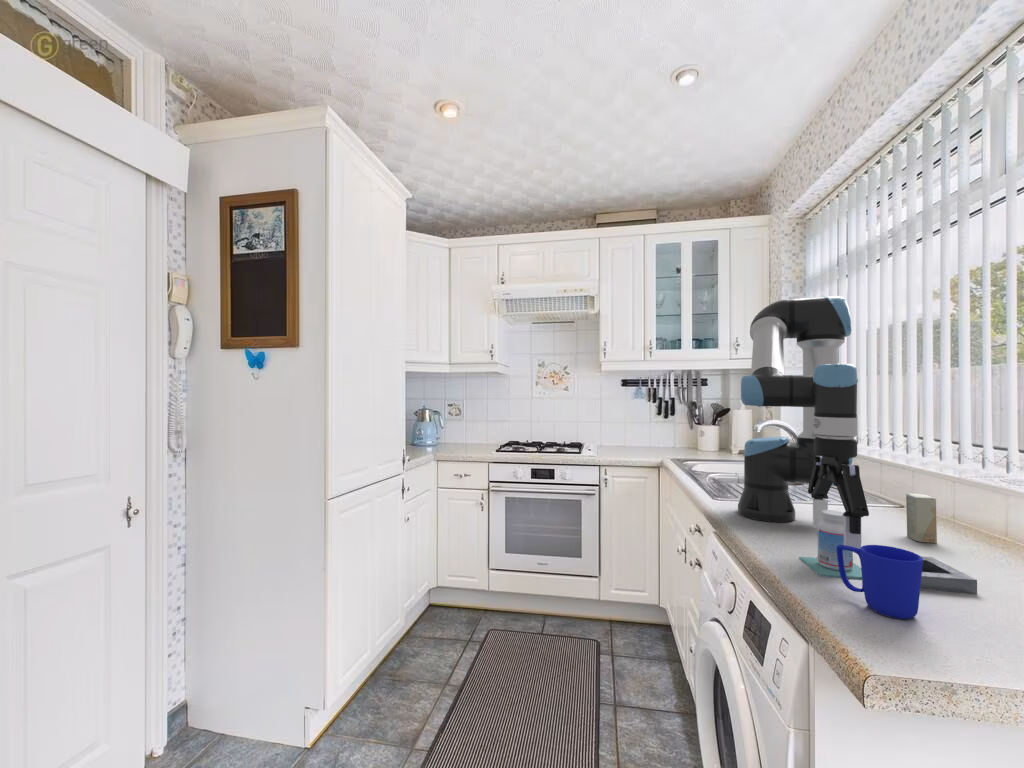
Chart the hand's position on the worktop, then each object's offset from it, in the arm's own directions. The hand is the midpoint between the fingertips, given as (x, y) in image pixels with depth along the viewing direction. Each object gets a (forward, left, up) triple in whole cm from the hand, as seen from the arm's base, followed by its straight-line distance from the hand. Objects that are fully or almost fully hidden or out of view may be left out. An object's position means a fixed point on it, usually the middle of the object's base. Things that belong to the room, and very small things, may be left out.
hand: (835, 538), depth 97 cm
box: (-26, +31, -7) cm, 41 cm away
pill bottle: (0, 0, -6) cm, 6 cm away
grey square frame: (+2, +14, -6) cm, 15 cm away
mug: (+18, -2, -7) cm, 19 cm away
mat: (0, 0, -6) cm, 6 cm away
